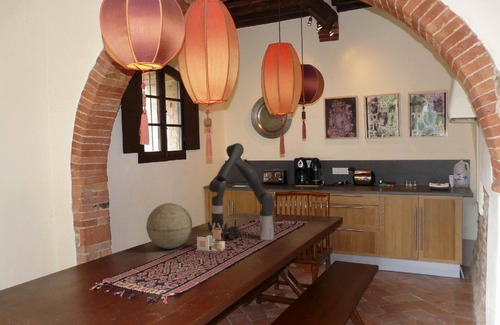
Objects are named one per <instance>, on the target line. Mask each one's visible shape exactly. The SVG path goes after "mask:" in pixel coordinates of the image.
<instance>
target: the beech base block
mask: <svg viewBox="0 0 500 325" xmlns="http://www.w3.org/2000/svg"><path fill="white" fill-rule="evenodd" d="M210 247H211V248H210V250H211V251H210V252H223V251H224V250H225V249H226V241H224V240H223V241H221V240H215V241H214V242H213V243H211V246H210Z"/></svg>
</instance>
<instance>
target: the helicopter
mask: <svg viewBox="0 0 500 325" xmlns="http://www.w3.org/2000/svg"><path fill="white" fill-rule="evenodd" d="M233 224H234V226H227V230H226V233H225V232H224V237H223V238H226V239H228V240H234V239H238V238H240V237H241V233H237V232H238V231H239V230H242V231H243V230H244V231H246V229H244V228H241V227H240V226H241V224H240V225H237V219H234V221H233ZM244 225H245V223H244V224H242V226H244ZM238 226H239V227H238ZM227 232H228V233H227Z"/></svg>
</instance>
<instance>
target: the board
mask: <svg viewBox="0 0 500 325" xmlns="http://www.w3.org/2000/svg"><path fill="white" fill-rule="evenodd" d="M206 237H207V236H206ZM206 237H203V236H196V245H197V246H196V247H197V248H196V249H195V252H201V253H210V252H212V251H211V248H210V246H209V238H206Z"/></svg>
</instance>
